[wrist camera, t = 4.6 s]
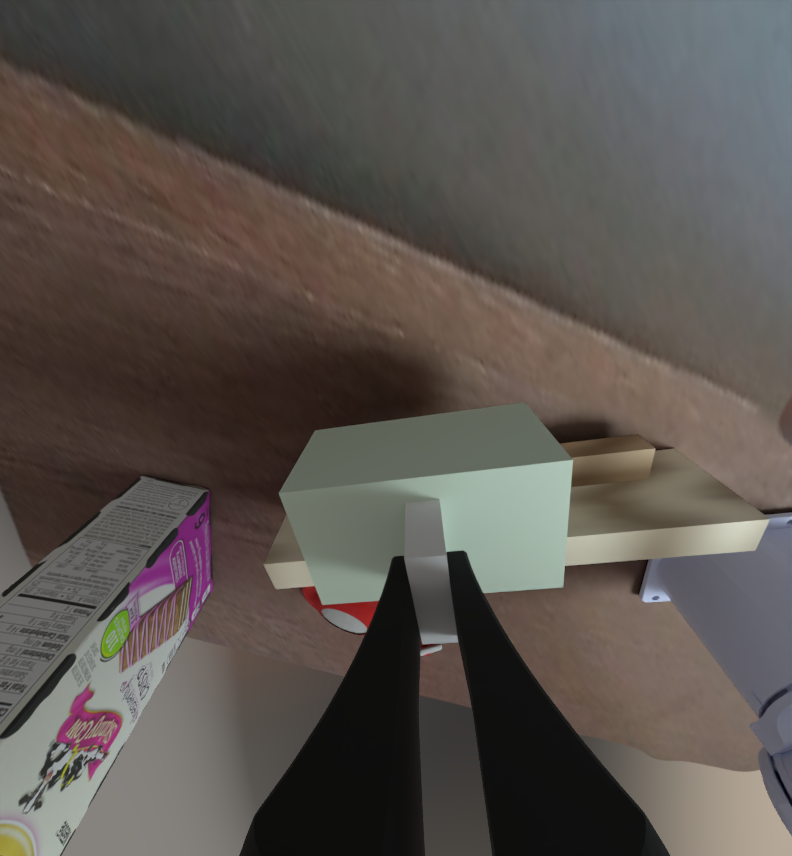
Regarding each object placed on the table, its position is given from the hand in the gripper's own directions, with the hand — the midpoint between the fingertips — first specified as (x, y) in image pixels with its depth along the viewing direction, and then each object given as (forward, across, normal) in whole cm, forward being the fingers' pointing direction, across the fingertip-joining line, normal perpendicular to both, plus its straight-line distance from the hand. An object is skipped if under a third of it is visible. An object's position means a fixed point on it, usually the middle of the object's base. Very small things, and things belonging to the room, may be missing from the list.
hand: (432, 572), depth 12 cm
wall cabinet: (+6, 0, 0) cm, 6 cm away
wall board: (+10, -3, +4) cm, 11 cm away
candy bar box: (+10, +19, +6) cm, 22 cm away
